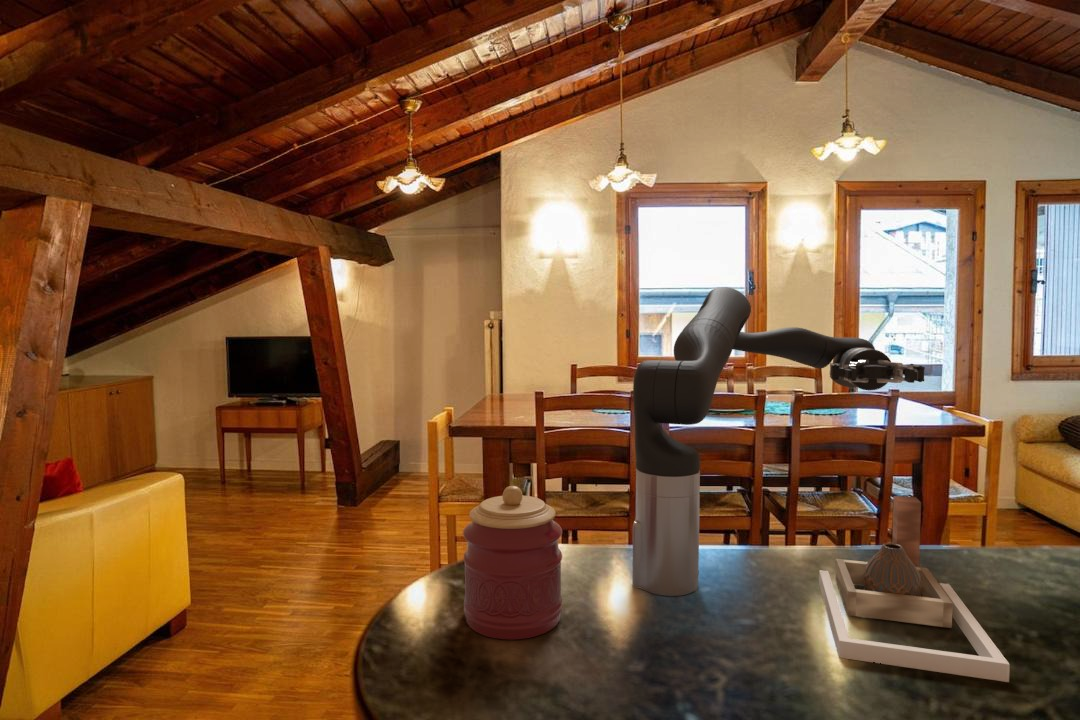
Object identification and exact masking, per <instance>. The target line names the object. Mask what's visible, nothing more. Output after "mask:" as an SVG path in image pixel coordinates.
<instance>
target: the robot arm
mask: <svg viewBox="0 0 1080 720" xmlns="http://www.w3.org/2000/svg"><path fill="white" fill-rule="evenodd" d="M751 313H752V306H751V303H750V300H749V299H748V298H747V297H746V295H744V294H743V293H742V292H741V291H739V290H737V289H735V288H732V287H729V286H728V287H727V286H719V287H716V288H715V287H714V288H713V289H711V290H710V291H709V292H708V293H707V295H706V296H705V299H704V301H703V302H702V304H701V306H700V308H699V309H698V312H697V313H696V314H695V315H694V316H693V318H692V319H691V320H690V321H689V322H688V323H687V325H686V326H684V328H683V329H682V331H681V332H680V333H679V335H678V336H677V338H676V340H675V342H674V346H673V356H674V359H675V360H665V359H664V360H662V359H660V360H659V359H657V360H655V359H654V360H653V359H648V360H643V361H641V362H640V363H639V364H638V366H637V368H636V370H635V372H634V377H633V385H632V392H633V393H632V395H633V396H632V397H633V400H632V402H633V403H632V404H633V415H634V420H633V421H634V450H635V452H634V453H635V519H634V521H633V523H632V583H631V585H632V587H633V588H638V589H642V590H643V591H645V592H649V593H651V594H654V595H660V596H672V597H675V596H684V595H688V594H692V593H694V592H696V590H697V589H698V588H699V576H700V570H699V567H700V565H699V563H700V562H699V560H700V552H699V551H700V498H701V497H700V491H701V487H700V486H701V485H700V483H701V481H700V480H701V478H700V477H701V471H700V470H701V467H700V466H701V458H700V457H701V456H700V454H699V452H698V450H696V449H695V448H694V447H692V446H689V445H687V444H685V443H683V442H680V441H679V440H677V439H675V438H673V437H672V436H671V435H669V433H667V432H666V431H665V430H664V427H663V425H662V424H667V425H668V424H669V425H670V424H671V425H682V426H691V425H696V424H699V423H701V422H702V421H704V420H705V418H706V417H707V415H708V413H709V411H710V409H711V405H712V402H713V399H714V395H715V392H716V388H717V387H716V386H717V383H718V380H719V377H720V375H721V374H722V371H723V369H724V367H725V366H726V365H727V363H728V361H729V359H730V356H731V354H732V352H733V350H734V351H740V352H746V353H752V354H759V355H767V356H772V357H779V358H782V359H786V360H790V361H792V362H796V363H799V364H802V365H805V366H807V367H812V368H815V369H824V368H826V367H828V366H829V377H830V380H832V381H833V382H834V383H836V384H838V385H839V386H842V387H844V388H845V387H846V388H857V389H860V390H864V391H876V390H880V389H882V388H884V387H885V386H886V385H887V384H888V383H893V384H898V383H900V384H901V383H903V382H907V383H911V384H912V383H913V384H914V383H915V382H918V383H922V382H925V369H926V368H925V367H926V366H923V365H918V364H914V363H910V364H906V365H904V364H903V363H902V362H896V361H895V362H893V361H891V359H890V358H889V356H887V354H886V353H884V352H883V351H880V350H878V349H876V347H875V345H873V344H872V342H870V341H869V340H868V339H867V340H866V339H864V338H860V337H836V336H834V337H833V336H829V335H825V334H821V333H819V332H815V331H812V330H809V329H807V328H803V327H797V326H794V327H793V326H790V327H789V326H788V327H782V328H781V327H780V328H776V329H772V330H766V331H758V332H744V331H742V329H743V328H744V326H745V324H746V323H747V321H748V320H749V317H750V316H751Z"/></svg>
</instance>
